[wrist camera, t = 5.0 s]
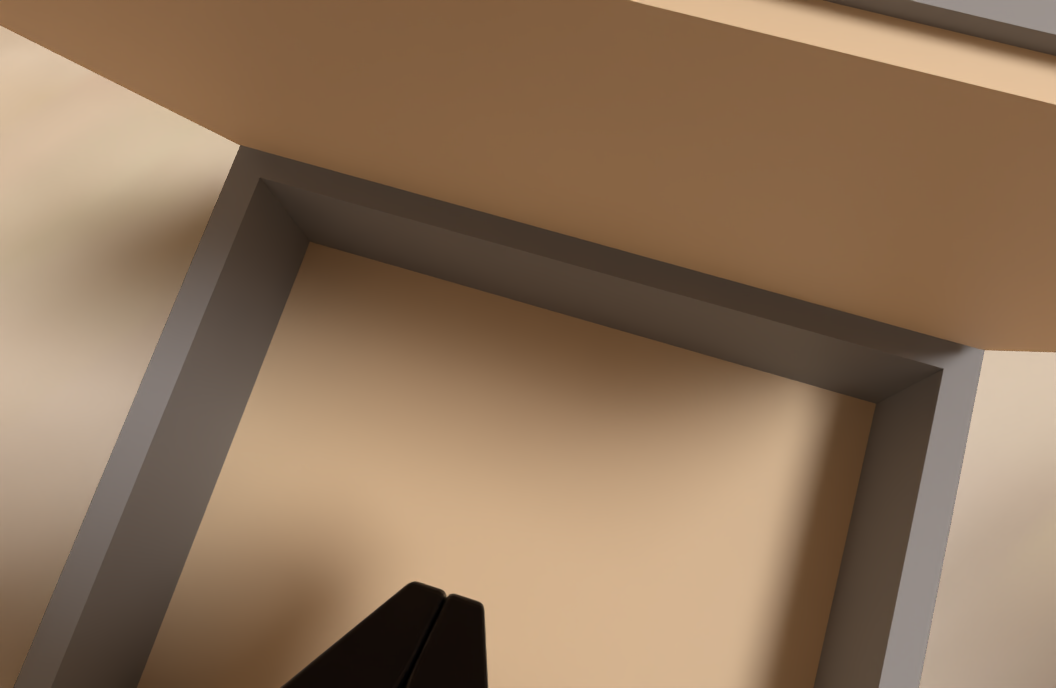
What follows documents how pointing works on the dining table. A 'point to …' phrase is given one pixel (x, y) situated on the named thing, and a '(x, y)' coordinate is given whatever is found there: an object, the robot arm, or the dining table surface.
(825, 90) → the mailer lid
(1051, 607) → the dining table surface
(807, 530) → the box
